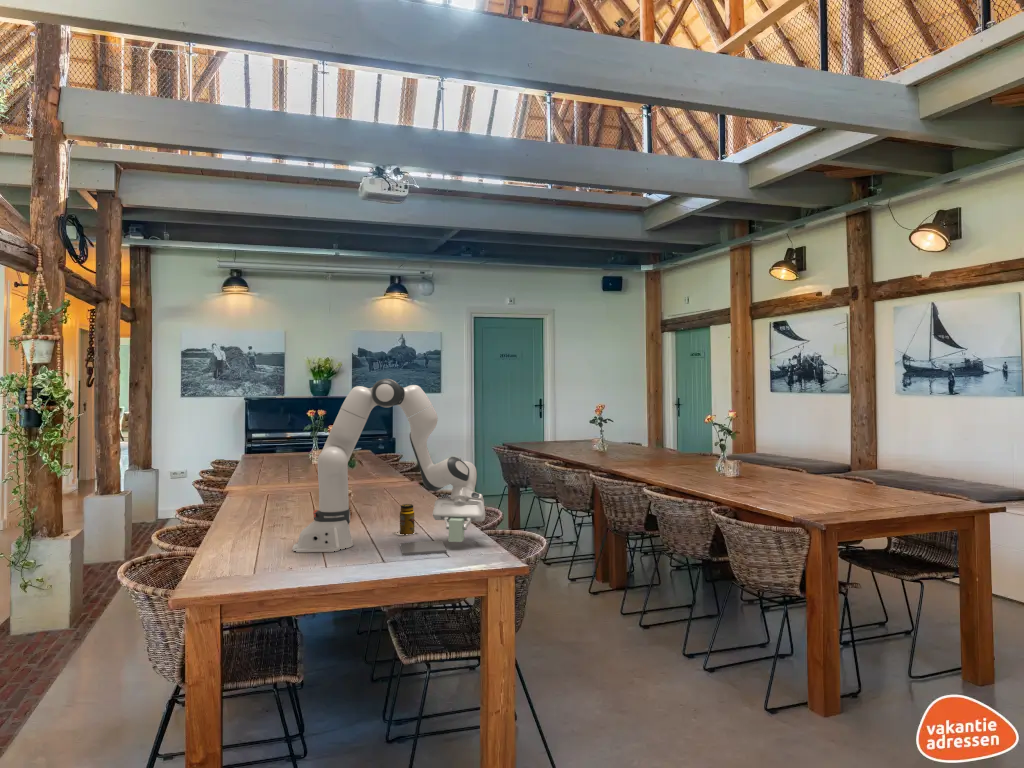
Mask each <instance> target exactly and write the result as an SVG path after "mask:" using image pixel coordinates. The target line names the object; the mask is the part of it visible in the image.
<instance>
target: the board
mask: <svg viewBox="0 0 1024 768" xmlns="http://www.w3.org/2000/svg"><path fill="white" fill-rule="evenodd" d="M400 545H401V546H400V549H401V553H402V554H403V555H405V556H416V555H415V554H421V555H432V554H431V553H437V554H447V553H448V552H447V548H446V547H445V544H444V542H443V541H442V540H432V541H412V542H400ZM403 555H402V556H403Z"/></svg>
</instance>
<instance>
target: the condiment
mask: <svg viewBox="0 0 1024 768" xmlns="http://www.w3.org/2000/svg"><path fill="white" fill-rule="evenodd" d="M415 527H416V526H415V510H414V505H413V504H412V503H411V504H410V503H403V504H401V505H400V511H399V531H398V532H400V534H404V535H406V534H413V533H414V532H415ZM398 532H397V533H398ZM393 533H396V532H393ZM406 536H407V535H406Z"/></svg>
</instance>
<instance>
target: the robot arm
mask: <svg viewBox="0 0 1024 768" xmlns="http://www.w3.org/2000/svg"><path fill="white" fill-rule="evenodd" d="M376 406H378V407H379V406H380V407H382V408H391V407H394V406H398V407H400V408H401V409H402V411H403V412H404V414H405V416H406V418H407V421H408V423H409V426H410V428H409V429H410V433H409V442H410V444H411V445H410V446H411V448H412V450H413V453H414V457H415V459H416V462H417V464H418V468H419V470H420V475H421V480H422V483H423V485H424V487H426V488H427V489H428V490H430V491H432V492H438V491H439V490H441V489H443V488H445V487H447V486H449V485H451V486H452V490H451V494H450V497H446V498H444V497H439V498H438V499H436V500H435V501H434V504H433V505H434V507H433V510H432V517H433V519H434V520H435V521H444V522H445V529H446V530H449V520H450V519H451V518H464V524H463V530H464V531H467V530H468V527H469V526H470V525H471V524H472V522H484V521H485V519H486V509H485V508H486V507H485V500H484V497H483V494H482V493H478V492H476V491H474V490H475V488H476V484H477V479H478V478H477V476H478V475H477V468H476V466H475V464H473V462H471V461H466V460H462V459H460V458H458V457H456V456H450V457H448V458H445V459H443V460H441V461H440V462H437V463H435V464H434V462H433V460H432V457H431V454H430V452H429V449H428V447H427V441H428V438H429V437H430V435H432V433H433V431H434V430H435V429H436V426H437V424H438V421H439V418H438V413H437V411H436V410H435V407H434V406H433V403H432V402H431V400H430V398H429V397H428V396H427V394H426V392H425V391H424V390H423V388H421V386H420V385H416V384H410V385H407V386H405V387H403V386H401V385H400V384H399V383H397V382H396V381H395V380H393V379H391V378H383V379H379V380H377V381H376V382H375V383H374V384H373V386H372V387H370V388H368V387H366V386H362V385H361V386H360V385H359V386H358V385H356V386H354V387H352V389H351V390H350V391H349V392H348V394H347V395H346V397H345V399H344V401H343V403H342V404H341V406H340V409H339V411H338V414H337V416H336V417H335V420H334V422H333V425H332V426H331V429H330V432H329V434H328V436H327V439H326V441H325V442H324V446H323V448H322V450H321V452H320V453H319V455H318V457H317V480H318V508H319V509H315V510H313V512H312V515H313V521H311V522H310V523H309V524H308V525H307V526H305V528H303V529H302V530H301V531H300V533H299V536H298V541H297V542H296V543H294V544H293V546H292V551H293V552H294V551H296V552H295V553H334V551H335V552H338V551H341V550H345V548H346V549H348V548H351V547H353V546H354V542H353V539H352V533H351V527H350V523H351V512H350V511H351V510H350V508H349V501H350V500H349V471H348V467H349V466H348V463H349V460H350V459H351V456H352V454H353V452H354V449H356V445H357V443H358V441H359V439H360V437H361V434H362V432H363V430H364V428H365V426H366V423H367V421H368V419H369V416H370V414H371V411H372V410H373V409H374V408H375V407H376ZM340 549H341V550H340Z"/></svg>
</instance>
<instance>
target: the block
mask: <svg viewBox="0 0 1024 768" xmlns="http://www.w3.org/2000/svg"><path fill="white" fill-rule="evenodd" d="M448 523H449V529H448V542H450V543H452V542H453V543H462V542H464V540H465V530H463V524H465V521H464V518H451V519H450V520H449V522H448Z"/></svg>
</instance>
